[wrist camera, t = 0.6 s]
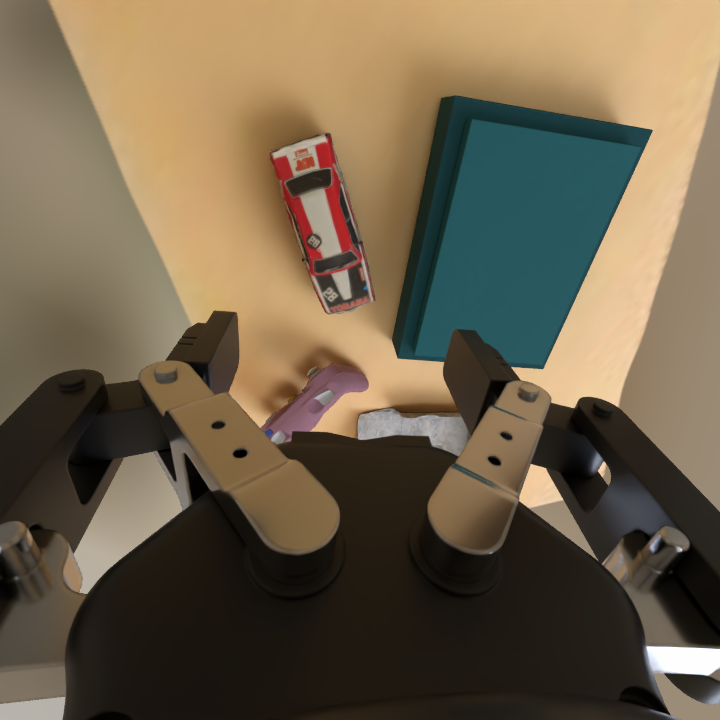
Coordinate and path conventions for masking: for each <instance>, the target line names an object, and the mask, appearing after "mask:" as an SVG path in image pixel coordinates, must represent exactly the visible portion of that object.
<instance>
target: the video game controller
mask: <svg viewBox="0 0 720 720" xmlns="http://www.w3.org/2000/svg"><path fill="white" fill-rule="evenodd" d="M317 368H318V366H315V367H313V368H311V369H310V370H309V371H308V373H307V377H308V376H309V375H310V374H311V377H310V380H309V381H308V383H307V386H306V387H305V388H304V389H303V390H302V392H303V393H304V394H303V393H300V394H299V395H298V396H297V397H295V396H291V397H290V398H289V399H288V402H289V404H287V405H286V406H284V407H283V408H282V409H281V410H280V411H279V412H275V413H274V414H273V415H272V416H271V417H269V418H268V419H267V420H266V423H265V424H264V425H263V426H262V427H261V428H260V429H261V430H262V431H263V432H264V433H265V434H266V435H267V436H268V438H269V439H270V440H271V441H272V442H273V443H274V444H275V445H276V444H280V443H284V442H289V441H291V438H292V431H306V432H309V431H310V430H312V429H313V428H314V427H315V426H316V424H317V423H318V422H319V420H320V419H321V417H322V415H323V414H324V413H325V412H326V411H327V410H328V409H329V408H330V407H331V406H333V404H334V403H335V402H336V401H337V400H338V399H339V398H340V397H341V396H342V395H343V394H345V393H349V392H363V391H365V390H367V389H368V386H369V383H368V380H367V378H366V376H365V375H364V374H363V373H362V372H361V371H359V370H357V369H356V368H354V367H351V366H347V365H334V364H333V363H331V364H330V365H328V366H327V367H326V368H323V369H319V370H316V369H317Z"/></svg>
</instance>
